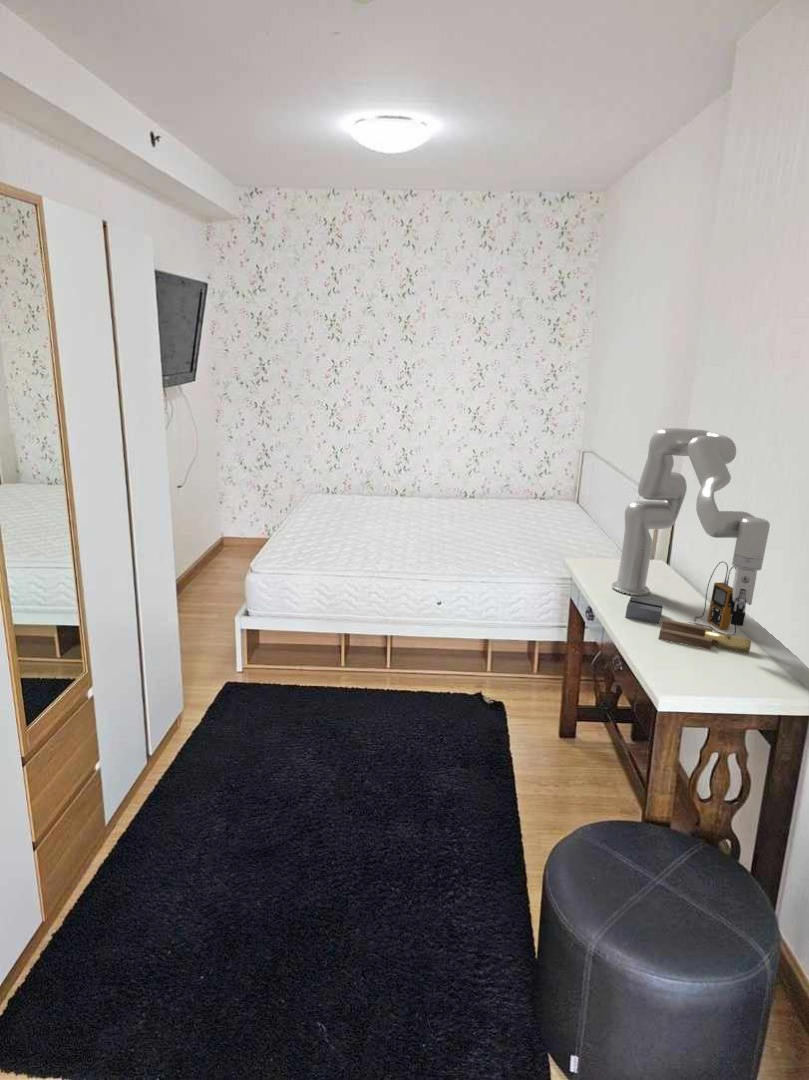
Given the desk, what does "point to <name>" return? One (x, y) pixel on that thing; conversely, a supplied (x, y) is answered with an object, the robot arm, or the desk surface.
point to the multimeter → (720, 604)
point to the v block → (644, 610)
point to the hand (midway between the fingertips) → (736, 619)
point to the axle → (729, 641)
